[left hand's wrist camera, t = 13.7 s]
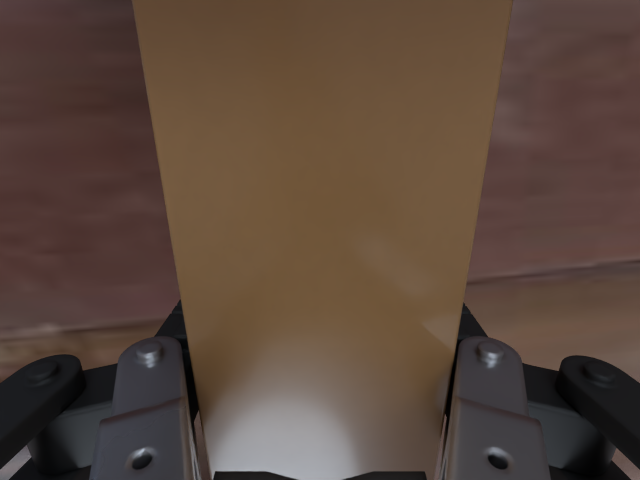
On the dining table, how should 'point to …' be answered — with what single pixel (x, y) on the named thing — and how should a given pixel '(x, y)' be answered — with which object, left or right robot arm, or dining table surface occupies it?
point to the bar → (322, 216)
